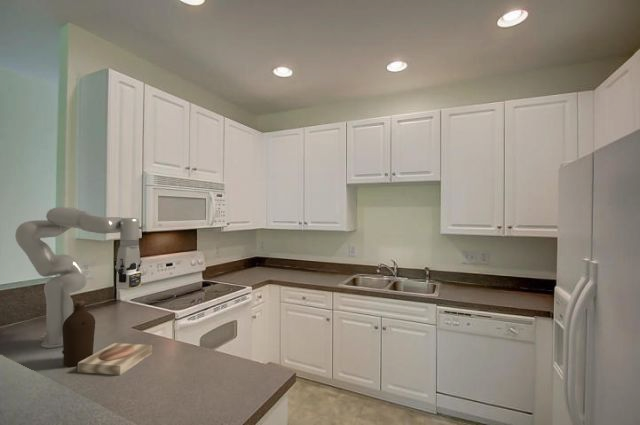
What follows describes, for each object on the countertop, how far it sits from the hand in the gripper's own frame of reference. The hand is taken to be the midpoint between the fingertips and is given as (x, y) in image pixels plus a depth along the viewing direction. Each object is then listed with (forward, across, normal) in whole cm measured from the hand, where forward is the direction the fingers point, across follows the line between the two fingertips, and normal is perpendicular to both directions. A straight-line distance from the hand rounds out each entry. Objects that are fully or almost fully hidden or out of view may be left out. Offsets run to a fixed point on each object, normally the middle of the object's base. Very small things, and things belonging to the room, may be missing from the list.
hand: (128, 280), depth 141 cm
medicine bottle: (+4, 0, 0) cm, 4 cm away
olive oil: (+30, +19, -7) cm, 36 cm away
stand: (+30, +18, +9) cm, 36 cm away
